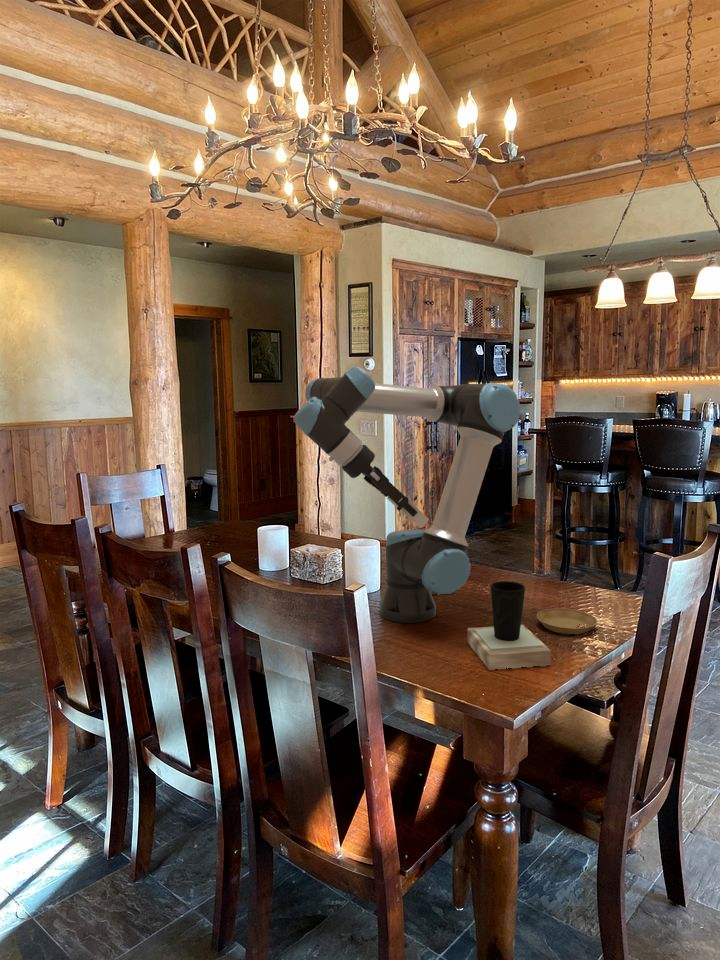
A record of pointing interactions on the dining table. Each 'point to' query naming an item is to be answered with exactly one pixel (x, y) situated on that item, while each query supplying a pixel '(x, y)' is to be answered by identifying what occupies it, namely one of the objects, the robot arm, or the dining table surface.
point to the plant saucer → (566, 620)
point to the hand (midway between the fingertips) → (417, 518)
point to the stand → (508, 649)
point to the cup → (507, 609)
